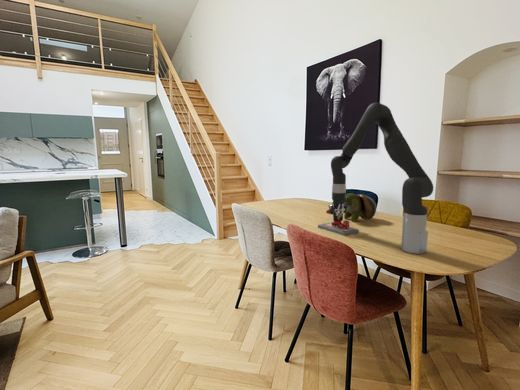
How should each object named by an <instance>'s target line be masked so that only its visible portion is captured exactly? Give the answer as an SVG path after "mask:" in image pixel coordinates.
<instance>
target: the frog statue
mask: <svg viewBox="0 0 520 390" xmlns="http://www.w3.org/2000/svg"><path fill="white" fill-rule="evenodd" d="M344 201H345V203H348V207H347V210H346V213H344V214H343V219H344V220H347V219H349V218H350V221H351V222H352V223H353V222H356V221H357V220H358V219H359V218H363V219H365V220H371V219H372V218H374V216H375V215H376V212H377V203H376V202H375V200H374V199H373V198H371V197H369V196H367V195H366V194H363V193H359V194H355V193H353V192H352V193H351V192H349V193H346V199H345V200H344Z"/></svg>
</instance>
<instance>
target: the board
mask: <svg viewBox="0 0 520 390" xmlns="http://www.w3.org/2000/svg"><path fill="white" fill-rule="evenodd" d="M332 222H333V221H332ZM332 222H331V221H330V222H327V223H322V224H318V225H317V228H319V229H322V230H325V231H328V232H331V233H335V234H337V235H340V236H347V235H353V234H356V233H359V232H360V229H359V228H355V227H351V226H349V228H348V229H344V228H340V227H334V226H332Z"/></svg>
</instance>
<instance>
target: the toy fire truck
mask: <svg viewBox="0 0 520 390" xmlns="http://www.w3.org/2000/svg"><path fill="white" fill-rule="evenodd" d="M335 213H336V211H335ZM326 214H329V215H331V214H330V210H329V209H326ZM341 216H342V214H341V213H339V212H338V214H337V222H334V221H332V226H334V227H340V228H344V229H348V228H349V227H350V222H349V220H347V219H344V220H342V221H340V220H339V218H340V217H341Z"/></svg>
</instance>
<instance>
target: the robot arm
mask: <svg viewBox="0 0 520 390" xmlns="http://www.w3.org/2000/svg"><path fill="white" fill-rule="evenodd" d="M364 111H365V112H364V113H363V115H362V117H361V119H360V120H359V122H358V123H357V126H356V128H355V130H354V131H353V133H352V134H351V136H350V137H349V138H348V140H347V142H346V143H345V144H344V145H343V147H342V149H341V152H342V153H341V154H340V155H337V156H333V158H331V161H330V169H331V174H332V185H331V189H332V190H331V199H332V203H331V204H328V210H330V214H329V215H331V216H332V215H333V216H332V217H333V219H332V220H333V221H332V222H337V215H338V212H339V213H341V214H342V216H341V217H340V218H339V220H340V221H342V222H343V221H344V214H345V213H346V210H347V207H348V203H345V201H344V200H345V199H346V194H347V182H346V180H347V176H346V174H345V173H344V169H345V168H347V167H348V166H349V164H350V163H351V161H352V158H353V157H354V155H355V154H356V153H357V151H358V150H359V149H360V148H361V146H362V144H363V142H364V139H365V137H366V133H367V132H368V130H369V128H370V127H371V126H372V125H373V124H374V123H375V124H376V125H377V126H378V128H379V129H380V130H381V132H382V135H383V144H384V148H385V150H386V152H387V155H388V156H389V158H390V159H391V160H392V161H393V163H395V164H396V165H397V166H398V167H399V168H400V169H402V170H403V171H404V172H405V174H406V175H407V176H408V178H406V179H405V180H404V181H403V184H402V193H401V205H402V207H403V214H402V217H403V218H402V230H401V246H400V247H401V248H400V249H401V250H402V251H403V252H404V253H405V252H406V253H410V254H415V255H421V254H425V253H427V247H428V236H429V230H427V220H428V207H427V206H425V205H423V198H427V197H430V196H431V195H432V194H433V192H434V184H433V182H432V179H431V178H430V177H429V175H428V174H427V173H426V172H425V170H424V169H423V167H422V166H421V164H420V163H419V161H418V160H417V157H416V156H415V154H414V153H413V151H412V149H411V147H410V145H409V143H408V142H407V140H406V138H405V137H404V135H403V133H402V131H401V129H400V128H399V127H398V124H397V123H396V121H395V118H394V116H393V114H392V110H391V108H390V107H388V106H387V105H386V104H383V103H381V102H372V103H371V104H369V105H368V107H367V108H366V110H364ZM335 211H336V213H335Z"/></svg>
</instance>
